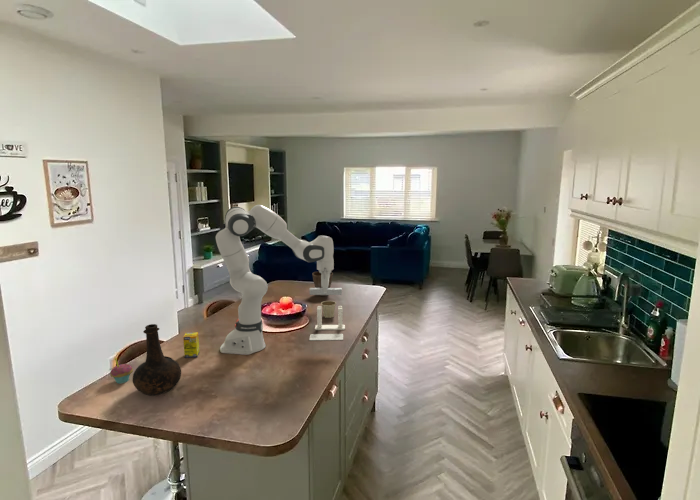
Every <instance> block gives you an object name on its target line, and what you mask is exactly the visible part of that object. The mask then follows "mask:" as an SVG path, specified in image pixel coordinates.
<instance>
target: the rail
mask: <svg viewBox="0 0 700 500" xmlns="http://www.w3.org/2000/svg"><path fill="white" fill-rule="evenodd" d="M342 289H343V288H342V287H330V288H327V293H324V289H323V288H315V287H309V295H310V296H319V295H326V296H342V295H343V294H342V292H343V291H342Z"/></svg>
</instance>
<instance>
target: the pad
mask: <svg viewBox="0 0 700 500" xmlns="http://www.w3.org/2000/svg"><path fill="white" fill-rule="evenodd" d="M309 341H344V334H343V333H310V336H309Z"/></svg>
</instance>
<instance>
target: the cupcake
mask: <svg viewBox="0 0 700 500" xmlns="http://www.w3.org/2000/svg"><path fill="white" fill-rule="evenodd" d="M114 361H115V364H116V365H115V366H114V367H113V368H112V369H111V370H110V371H109V373H110V374H109V375H110V377H112V378H113V379H114V381H115V382H116V383H117V384H120V385H121V384H125V383H127V382H128V381H129V380H130V376H131V374H133V373H134V369H133V366H132V365H130V364H128V363H122V364H119V362H118V359H117V357H114Z"/></svg>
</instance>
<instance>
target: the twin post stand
mask: <svg viewBox="0 0 700 500" xmlns="http://www.w3.org/2000/svg"><path fill="white" fill-rule="evenodd" d="M337 309H338V310H337V315H338V316H337V318H338V319H337V320H338V321H337V322H338V323H337V324H323V320H322V319H323V317H322V316H323V314H322V312H323V307H322V305H318V306H316V316H317V317H316V320H317V321H316V322H317V324H315V327H314V331H343V330H346V325H345V324H344V323H343V320H344V319H343V306H342V305H338V306H337Z"/></svg>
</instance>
